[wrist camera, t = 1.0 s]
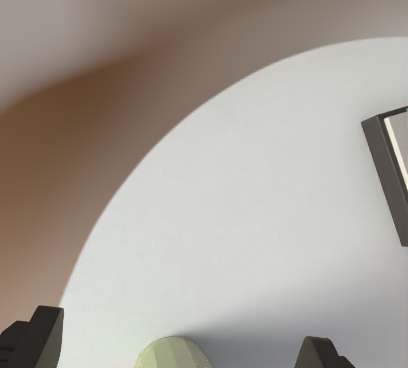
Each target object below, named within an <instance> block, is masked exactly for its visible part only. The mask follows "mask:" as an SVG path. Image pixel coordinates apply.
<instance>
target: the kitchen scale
mask: <svg viewBox="0 0 408 368" xmlns="http://www.w3.org/2000/svg"><path fill="white" fill-rule="evenodd" d="M361 124H362V127H363V130H364V133H365V136H366V139H367V142H368V145H369V148H370V151H371V154H372V157H373V160H374V163H375V166H376V169H377V172H378V175H379V178H380V181H381V184H382V187H383V190H384V193H385V196H386V199H387V202H388V205H389V208H390V211H391V214H392V217H393V220H394V223H395V226H396V229H397V232H398V235H399V238H400V241H401V244H402V246H406V247H408V106H406V107H403V108H400V109H396V110H393V111H389V112H386V113H382V114H379V115H376V116H374V117H371V118H369V119H367V120H365V121H362V122H361Z"/></svg>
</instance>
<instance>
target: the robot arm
mask: <svg viewBox="0 0 408 368" xmlns="http://www.w3.org/2000/svg"><path fill="white" fill-rule="evenodd" d="M63 318H64V309H63V308H59V307H49V306H38V307H37V309H36V311H35V312H34V314H33V316H32V318H31V320H30V322H25V321H16V322H14V323H13V324H12V325H11V326H9V327H8V328H7V329H5V330H4V331H3V332H2V333H1V335H0V368H56V367H57V364H58V361H59V357H60V352H61V344H62V331H63ZM294 368H355V367H354V366H353V365H352V364H351V363H350V362H349V361H348V360H347V359H346V357H345V356H339V355H338V353H337V351H336V349H335V347H334V345H333V343H332V341H331V340H330V339H328V338H320V337H311V336H307V337H305V339H304V341H303V344H302V347H301V349H300V352H299V355H298V358H297V361H296V364H295V367H294Z"/></svg>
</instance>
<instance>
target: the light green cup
mask: <svg viewBox="0 0 408 368" xmlns="http://www.w3.org/2000/svg"><path fill="white" fill-rule="evenodd" d="M134 368H212V366H211V364H210V363H209V361H208V359H207V357H206V356H205V354H204V353H203V352H202V350H201V349H200V348H199V347H198V346H197V345H196V344H195V343H193V342H192V341H190V340H188V339H186V338H182V337H176V336H172V337H165V338H162V339H159V340H157V341H155V342H153V343H152V344H150V345H149V346H148V347H147V348H146V349H145V350H144V351H143V352H142V353H141V355H140V356H139V358H138V359H137V362H136V364H135V367H134Z"/></svg>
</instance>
